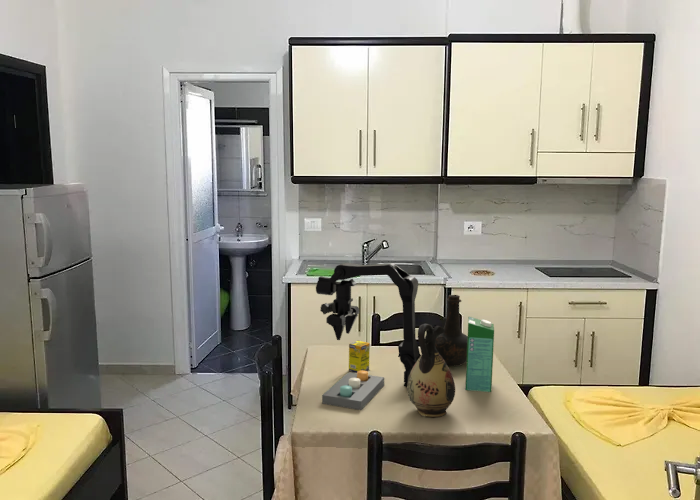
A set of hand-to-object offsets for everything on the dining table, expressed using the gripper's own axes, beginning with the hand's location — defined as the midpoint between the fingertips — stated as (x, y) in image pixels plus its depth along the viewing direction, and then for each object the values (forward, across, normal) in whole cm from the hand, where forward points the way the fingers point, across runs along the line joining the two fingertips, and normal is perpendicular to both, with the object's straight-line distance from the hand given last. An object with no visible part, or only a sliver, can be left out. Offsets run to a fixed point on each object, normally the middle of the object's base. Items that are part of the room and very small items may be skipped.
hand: (343, 336), depth 228 cm
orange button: (+13, +9, +11) cm, 19 cm away
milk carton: (+15, -7, +50) cm, 53 cm away
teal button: (+13, +25, +11) cm, 30 cm away
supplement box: (+15, -6, +4) cm, 17 cm away
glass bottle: (+15, -29, +35) cm, 48 cm away
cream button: (+13, +17, +11) cm, 24 cm away
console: (+15, +17, +11) cm, 25 cm away
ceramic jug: (+15, +22, +39) cm, 47 cm away
